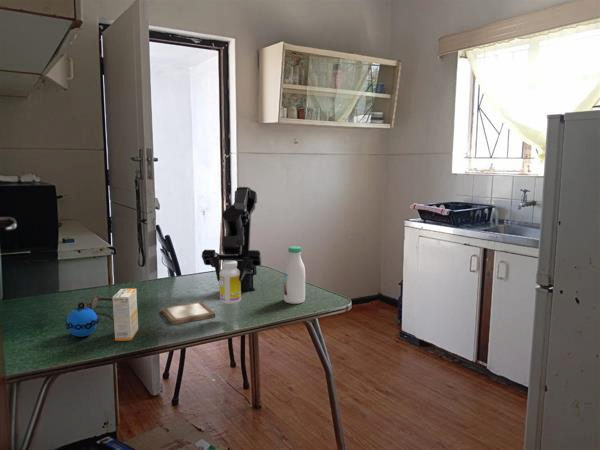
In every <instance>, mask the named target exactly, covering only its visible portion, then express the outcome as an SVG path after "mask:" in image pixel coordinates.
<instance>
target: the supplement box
mask: <svg viewBox="0 0 600 450" xmlns="http://www.w3.org/2000/svg"><path fill="white" fill-rule="evenodd" d="M137 294H138V293H137V288H120V289H119V290H118V292H116V293H115V294H114V295H113V296H112V298H111V299H113V301H112V308H113V309H112V311H113V312H112V314H113V318H114V321H113V327H114V340H115V341H116V342H119V341H120V342H121V341H123V342H124V341H132V340H133V339H134V337H135V336H136V334H137V333H138V331H139V317H138V308H137V307H138V298H137V297H138V295H137Z"/></svg>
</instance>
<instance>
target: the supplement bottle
mask: <svg viewBox="0 0 600 450" xmlns="http://www.w3.org/2000/svg"><path fill="white" fill-rule="evenodd" d="M221 265H222V269H220V273H219V301H220V302H221V303H223V304H228V305H229V304H232V305H233V304H236V303H239V302H241V300H242V292H241V281H239V277H240V271H239V270H238V269H237V261H233V260H222V262H221Z"/></svg>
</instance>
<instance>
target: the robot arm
mask: <svg viewBox="0 0 600 450" xmlns="http://www.w3.org/2000/svg"><path fill="white" fill-rule="evenodd" d="M233 201H234V202H233V204H230V205H229V206H228V208H226V209H225V210H224V211H223V213H222V218H223V224H224V228H225V229H226V235H223V236H222V237H221V250H222V252H223V253H218V252H216V249H204V250H203V251H202V252H201V259H202V261H203V264H204V265H206V266H210V267H212V268H214V270H215V274H216V280H217V282H220V280H219V273H220V271H221V268H222V267H221V263H220V262H221V261H228V260H233V261H237V269H238V270H239V271H240V277H239V281H241V293H245V292H252V291H255V290H256V288H255V287H254V277H255V276H256V275H257V273H258V271H257V270H258V269H257V266H258V267H260V266H261V265H262V256H261V251H260V250H259V249H251V248H250V247H251V244H250V243H251V224H252V213H253V212H254V211H255V210H256V204H257V203H258V193H257V192H256V191H255V190H253V189H251V188H250V187H249V186H239V187H236V190H235V191H234V200H233Z"/></svg>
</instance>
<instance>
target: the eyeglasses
mask: <svg viewBox="0 0 600 450" xmlns="http://www.w3.org/2000/svg"><path fill="white" fill-rule="evenodd" d="M91 299H92V300H91V302H86V301H84V302H82V303H84V307H86V308H89V307H90V309H91V310H93V311H94V309H96V308H97V306H98V304H99V303H98V302H99V301H109V302H110V301H111V302H113V298H110V297H99V296H98V295H97V294H95V295H93V297H92V298H91ZM81 306H82V304H81V305H80V307H81ZM138 308H139V307H138V306H137V309H138ZM95 313H96V315H97V316H105V317H108V318H109V319H111V321H113V322H114V317H112V316H111V314H108V313H104V312H95Z"/></svg>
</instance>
